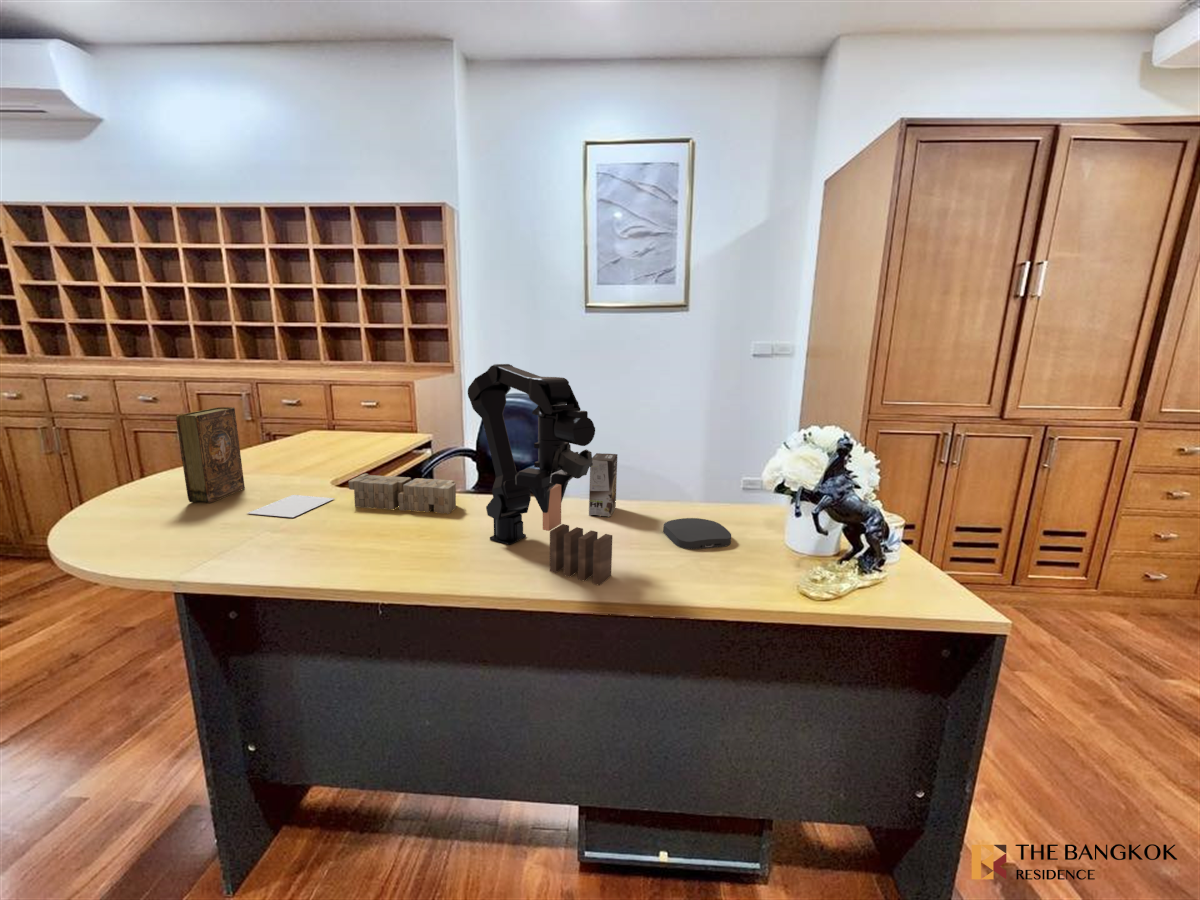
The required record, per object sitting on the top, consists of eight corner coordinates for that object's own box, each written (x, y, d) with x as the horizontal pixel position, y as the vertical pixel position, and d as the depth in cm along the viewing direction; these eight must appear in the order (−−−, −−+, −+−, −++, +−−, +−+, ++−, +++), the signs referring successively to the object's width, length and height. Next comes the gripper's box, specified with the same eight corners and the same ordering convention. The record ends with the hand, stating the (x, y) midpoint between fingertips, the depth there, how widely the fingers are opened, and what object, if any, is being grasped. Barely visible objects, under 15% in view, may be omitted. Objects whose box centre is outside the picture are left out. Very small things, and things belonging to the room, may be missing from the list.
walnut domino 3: (577, 579, 107) (578, 538, 105) (590, 570, 112) (590, 530, 110) (584, 581, 107) (585, 539, 105) (596, 571, 111) (597, 531, 109)
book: (230, 487, 162) (219, 406, 157) (247, 487, 162) (237, 407, 157) (188, 503, 146) (175, 415, 141) (208, 504, 146) (195, 415, 141)
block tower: (459, 508, 151) (365, 498, 155) (459, 480, 149) (364, 471, 153) (448, 518, 143) (349, 507, 147) (448, 488, 142) (348, 478, 145)
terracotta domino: (542, 529, 112) (542, 489, 110) (555, 522, 116) (555, 483, 114) (549, 530, 111) (549, 490, 109) (561, 523, 116) (561, 484, 114)
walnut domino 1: (549, 571, 111) (549, 531, 109) (562, 562, 115) (562, 523, 113) (555, 573, 110) (556, 532, 108) (568, 564, 114) (569, 525, 112)
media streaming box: (658, 529, 137) (659, 518, 136) (709, 526, 140) (710, 515, 140) (680, 552, 123) (681, 540, 122) (736, 547, 127) (737, 535, 126)
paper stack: (364, 502, 151) (364, 500, 151) (302, 534, 127) (302, 531, 127) (293, 496, 155) (292, 494, 155) (219, 526, 131) (219, 524, 131)
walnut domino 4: (592, 583, 106) (593, 541, 104) (604, 573, 110) (605, 533, 108) (599, 585, 105) (600, 543, 103) (611, 575, 109) (612, 535, 107)
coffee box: (610, 517, 144) (612, 460, 140) (588, 515, 145) (589, 459, 141) (616, 507, 152) (618, 453, 149) (594, 505, 153) (596, 452, 150)
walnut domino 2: (563, 575, 109) (563, 534, 107) (576, 566, 113) (576, 527, 111) (570, 576, 108) (570, 536, 106) (582, 568, 112) (583, 528, 111)
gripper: (562, 450, 98) (561, 529, 101) (605, 435, 114) (604, 503, 118) (513, 444, 103) (514, 519, 106) (562, 430, 119) (561, 495, 122)
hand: (551, 508), depth 113 cm, fingers closed on terracotta domino, 5 cm apart
